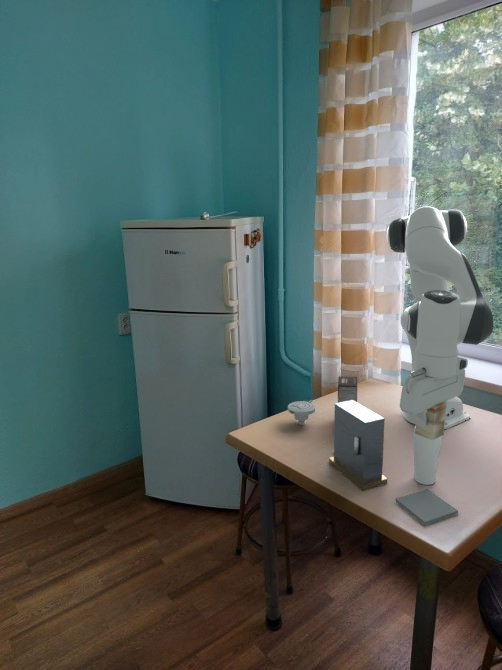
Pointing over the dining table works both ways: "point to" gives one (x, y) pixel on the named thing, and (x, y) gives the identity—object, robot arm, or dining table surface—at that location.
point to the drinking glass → (426, 458)
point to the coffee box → (347, 389)
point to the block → (433, 422)
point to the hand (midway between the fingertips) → (430, 421)
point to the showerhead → (301, 410)
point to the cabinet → (358, 444)
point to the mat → (426, 506)
